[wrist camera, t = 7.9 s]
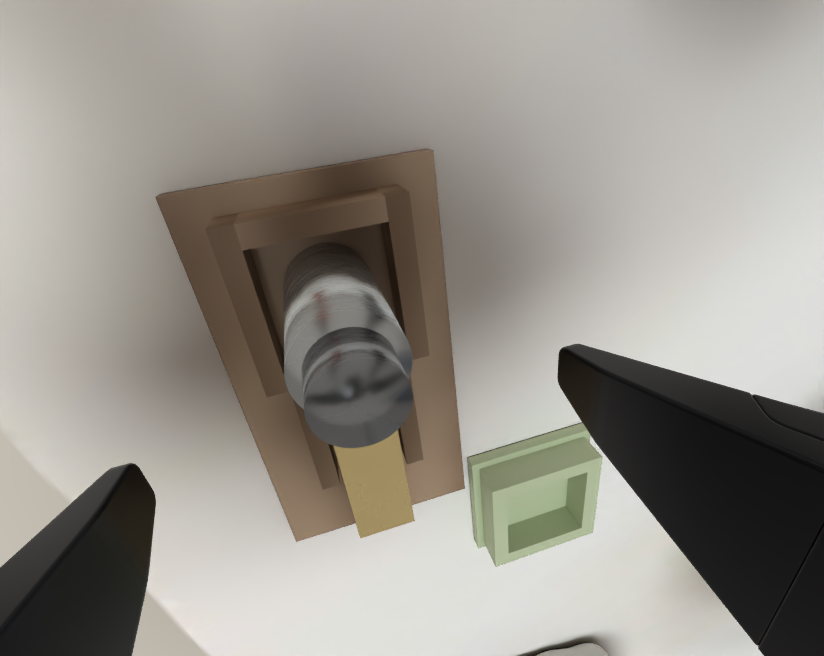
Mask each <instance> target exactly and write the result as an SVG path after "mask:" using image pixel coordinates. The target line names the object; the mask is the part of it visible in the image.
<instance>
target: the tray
mask: <svg viewBox="0 0 824 656" xmlns="http://www.w3.org/2000/svg"><path fill="white" fill-rule="evenodd" d="M589 442H590V434H589V432H588V430H587V429H586V427H585V426H584V424H583V423H580V424H577V425H573V426H570V427H567V428H564V429H560V430H557V431H554V432H550V433H547V434H544V435H541V436H537V437H534V438H531V439H527V440H524V441H521V442H518V443H514V444H511V445H508V446H505V447H501V448H498V449H495V450H491V451H488V452H485V453H482V454H478V455H475V456H472V457H468V468H469V480H470V492H471V503H472V515H473V527H474V539H475V542H476V544H477V546H478V548H481V547H484V546H486V547H487V549H488V551H489V553H490V555H491V558H492V560H493V562H494V564H495V566H496V567H497V566H500V565H503V564H505V563H508V562H511V561H514V560H517V559H519V558H522V557H525V556H528V555H531V554H533V553H536V552H539V551H542V550H545V549H547V548H550V547H553V546H556V545H559V544H562V543H564V542H567V541H570V540H573V539H576V538H578V537H581V536H584V535H587V534H590V533H592V532H593V527H594V519H595V511H596V504H597V496H598V488H599V480H600V472H601V465H602V456H601V455H600V454H599V452H598V451H597V450H596V449H595V448H594V447H593V446H592V445H591V444H590V443H589Z"/></svg>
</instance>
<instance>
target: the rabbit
mask: <svg viewBox="0 0 824 656" xmlns="http://www.w3.org/2000/svg"><path fill="white" fill-rule="evenodd" d="M536 656H609V655H608V654H607V652H606V651H605V650H604V649H603V648H602V647H600V646H599V645H596V644H593V643H583V644H579V645H576V646H573V647H570V648H565V649H557V650H550V651H546V652H543V653H540V654H538V655H536Z"/></svg>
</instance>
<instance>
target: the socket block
mask: <svg viewBox="0 0 824 656" xmlns="http://www.w3.org/2000/svg"><path fill="white" fill-rule="evenodd" d="M156 200H157V202H158V205H159V207H160V210H161V212H162V215H163V217H164V219H165V222H166V224H167V227H168V229H169V232H170V234H171V237H172V239H173V241H174V244H175V246H176V249H177V251H178V254H179V256H180V259H181V261H182V263H183V266H184V268H185V271H186V273H187V276H188V278H189V281H190V283H191V285H192V288H193V290H194V293H195V295H196V298H197V300H198V303H199V305H200V307H201V310H202V312H203V315H204V317H205V320H206V322H207V325H208V327H209V329H210V332H211V334H212V337H213V339H214V342H215V344H216V347H217V349H218V351H219V354H220V356H221V359H222V361H223V364H224V366H225V369H226V371H227V373H228V376H229V378H230V381H231V383H232V386H233V388H234V391H235V393H236V395H237V398H238V400H239V403H240V405H241V408H242V410H243V413H244V415H245V417H246V420H247V422H248V425H249V427H250V430H251V432H252V435H253V437H254V439H255V442H256V444H257V447H258V449H259V452H260V454H261V457H262V459H263V461H264V464H265V466H266V469H267V471H268V474H269V476H270V479H271V481H272V483H273V486H274V488H275V491H276V493H277V496H278V498H279V501H280V503H281V505H282V508H283V510H284V513H285V515H286V518H287V520H288V523H289V525H290V527H291V530H292V532H293V535H294V537H295V540H296V542H297V541H301V540H304V539H307V538H310V537H313V536H316V535H320V534H323V533H326V532H329V531H332V530H335V529H338V528H342V527H345V526H348V525H351V524H354V523H356V521H355V518H354V514H353V511H352V507H351V504H350V501H349V497H348V494H347V490H346V487H345V483H344V480H343V476H342V473H341V470H340V466H339V463H338V459H337V456H336V452H335V449H334V446H333V445H330V444H328V443H326V442H324V441H322V440H321V439H319V438H318V437H317V436H316V435H315V434H314V433H313V432H312V431H311V429H310V428H309V426H308V424H307V422H306V419H305V414H304V409H303V408H302V407H300V406H299V405H298V404H297V403H296V402H295V400H294V399H293V398H292V396H291V395H290V393H289V391H288V388H287V386H286V382H285V374H284V277H285V272H286V270H287V267H288V265H289V264H290V262H291V261H292V259H293V258H294V257H295V256H296V255H297V254H298V253H299V252H301V251H302V250H303V249H305V248H307V247H309V246H312V245H314V244H318V243H325V242H331V243H338V244H342V245H345V246H347V247H349V248H351V249H353V250H354V251H356V252H357V253H358V254H359V255H360V256H361V257H362V258H363V259H364V261H365V262H366V264H367V266H368V267H369V269H370V271H371V273H372V275H373V277H374V279H375V281H376V282H377V284H378V286H379V288H380V290H381V292H382V294H383V295H384V297H385V299H386V301H387V303H388V305H389V307H390V308H391V310H392V312H393V314H394V316H395V318H396V320H397V321H398V323H399V325H400V327H401V329H402V331H403V333H404V334H405V336H406V338H407V340H408V342H409V345H410V347H411V351H412V359H413V363H412V371H411V375H410V378H409V382H410V385H411V388H412V392H413V402H412V407H411V410H410V413H409V415H408V417H407V419H406V420H405V422H404V423H403V424H402V426H401V427H400V428H399V429H398V435H399V440H400V445H401V451H402V456H403V461H404V467H405V472H406V477H407V483H408V488H409V493H410V499H411V504H412V505H414V504H417V503H420V502H423V501H427V500H430V499H433V498H436V497H439V496H442V495H445V494H449V493H452V492H455V491H458V490H461V489H464V488H465V485H464V475H463V464H462V453H461V442H460V432H459V421H458V410H457V400H456V389H455V378H454V368H453V357H452V346H451V335H450V325H449V314H448V303H447V293H446V282H445V271H444V261H443V250H442V239H441V228H440V218H439V207H438V196H437V186H436V175H435V164H434V154H433V150H431V149H423V150H417V151H411V152H405V153H399V154H393V155H387V156H381V157H375V158H369V159H364V160H358V161H352V162H346V163H340V164H334V165H328V166H322V167H316V168H310V169H305V170H299V171H293V172H287V173H281V174H275V175H269V176H263V177H257V178H251V179H246V180H240V181H234V182H228V183H222V184H216V185H210V186H204V187H198V188H192V189H187V190H181V191H175V192H169V193H163V194H159V195H158V196H157V197H156Z"/></svg>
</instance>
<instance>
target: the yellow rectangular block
mask: <svg viewBox="0 0 824 656" xmlns="http://www.w3.org/2000/svg"><path fill="white" fill-rule="evenodd" d="M334 449H335V452H336V456H337V459H338V463H339V466H340V470H341V473H342V476H343V480H344V483H345V487H346V490H347V494H348V497H349V501H350V504H351V507H352V511H353V514H354V518H355V521H356V525H357V528H358V532H359V535H360V538H363V537H366V536H369V535H372V534H375V533H378V532H381V531H384V530H387V529H390V528H394V527H397V526H400V525H403V524H406V523H409V522H412V521H415V520H414V515H413V510H412V504H411V499H410V493H409V488H408V483H407V477H406V472H405V467H404V461H403V456H402V451H401V445H400V440H399V435H398V430H397V431H396V432H395V433H393V434H392V435H391V436H389V437H388V438H386V439H384V440H383V441H380V442H378V443H376V444H373V445H370V446H366V447H360V448H342V447H336V446H334Z"/></svg>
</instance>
